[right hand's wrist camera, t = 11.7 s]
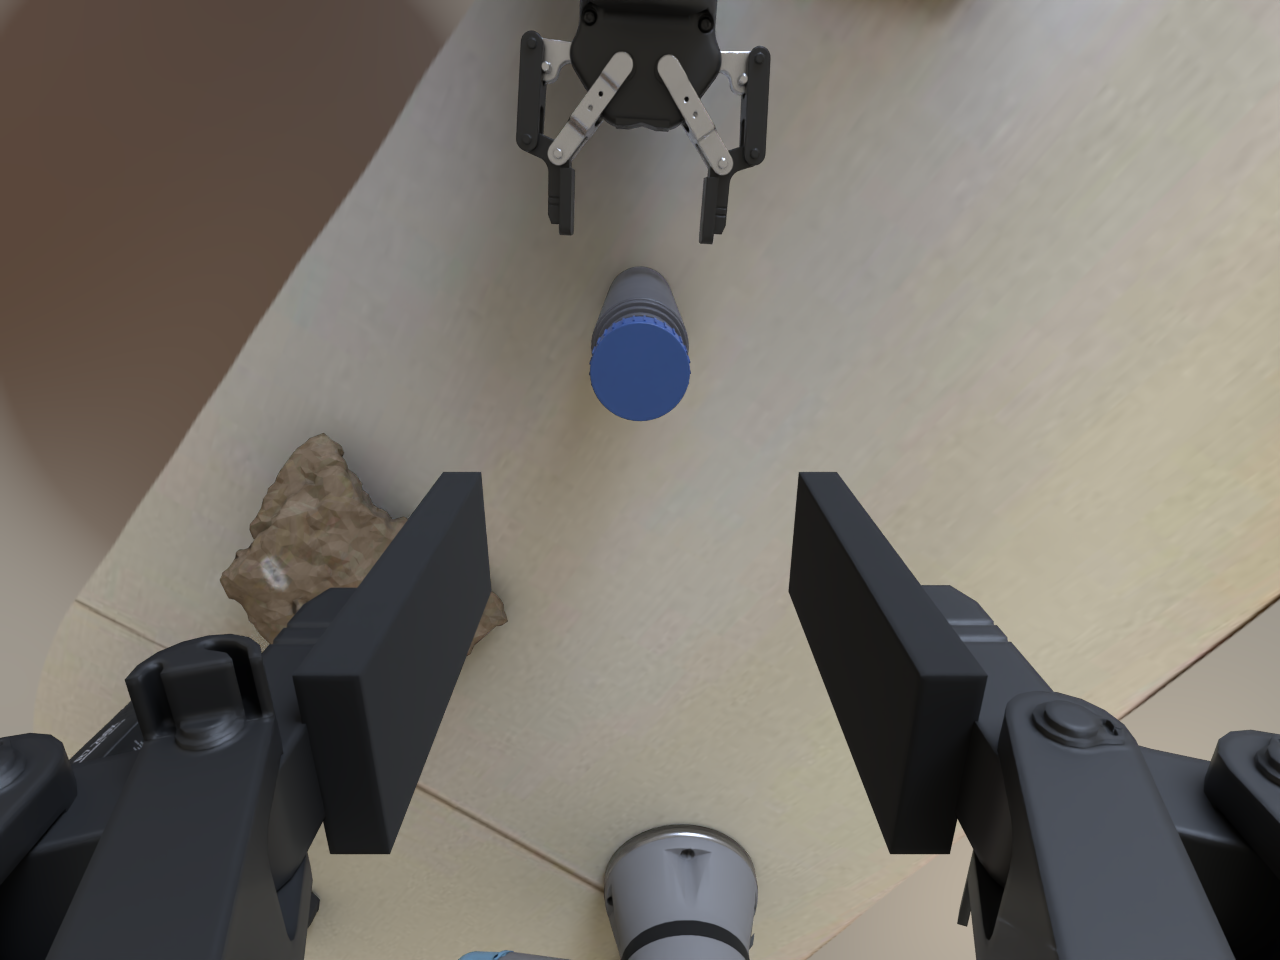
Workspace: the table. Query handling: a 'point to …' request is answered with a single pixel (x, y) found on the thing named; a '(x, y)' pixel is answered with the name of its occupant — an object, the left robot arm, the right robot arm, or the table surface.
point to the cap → (639, 368)
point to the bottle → (639, 302)
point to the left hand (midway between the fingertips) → (636, 239)
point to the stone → (315, 541)
